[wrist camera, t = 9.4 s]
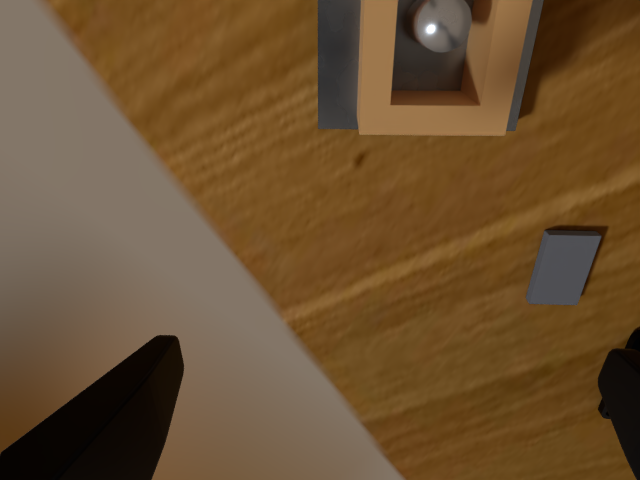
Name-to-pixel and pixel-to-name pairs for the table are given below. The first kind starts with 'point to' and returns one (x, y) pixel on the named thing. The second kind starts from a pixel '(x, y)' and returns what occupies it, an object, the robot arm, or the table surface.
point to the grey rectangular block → (562, 266)
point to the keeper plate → (403, 54)
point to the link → (442, 106)
